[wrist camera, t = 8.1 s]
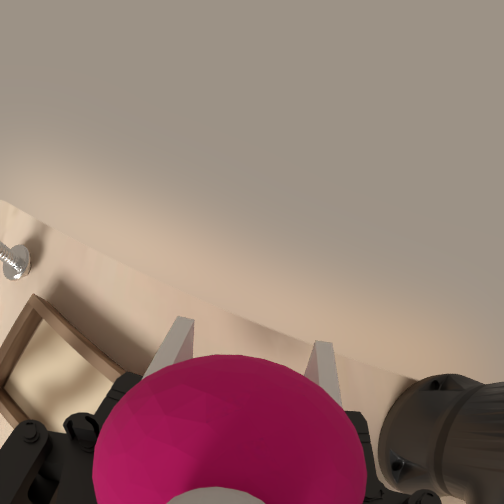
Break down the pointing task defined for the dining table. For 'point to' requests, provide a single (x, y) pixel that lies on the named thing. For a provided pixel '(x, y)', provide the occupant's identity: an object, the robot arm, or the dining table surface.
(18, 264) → the screw
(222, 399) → the pepper mill
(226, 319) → the dining table surface
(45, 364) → the walnut tray
